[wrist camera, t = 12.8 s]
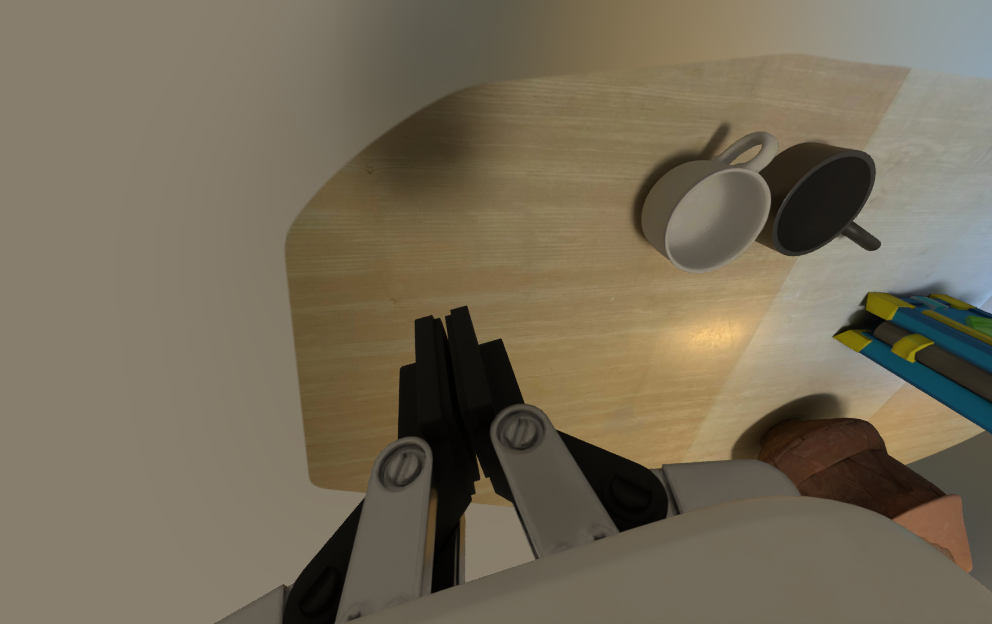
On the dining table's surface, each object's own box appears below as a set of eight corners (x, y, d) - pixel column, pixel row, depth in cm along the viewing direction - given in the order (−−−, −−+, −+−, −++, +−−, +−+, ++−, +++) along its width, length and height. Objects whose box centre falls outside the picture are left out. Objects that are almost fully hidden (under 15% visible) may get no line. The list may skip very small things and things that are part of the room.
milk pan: (796, 123, 38) (842, 129, 34) (880, 195, 47) (926, 206, 43) (720, 222, 44) (752, 237, 40) (808, 270, 52) (842, 287, 48)
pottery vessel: (706, 466, 82) (831, 631, 57) (778, 388, 69) (978, 558, 45) (781, 463, 90) (919, 607, 66) (858, 393, 77) (1065, 539, 53)
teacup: (662, 259, 45) (705, 290, 39) (609, 216, 40) (647, 243, 34) (752, 164, 40) (818, 181, 34) (704, 100, 35) (771, 106, 29)
